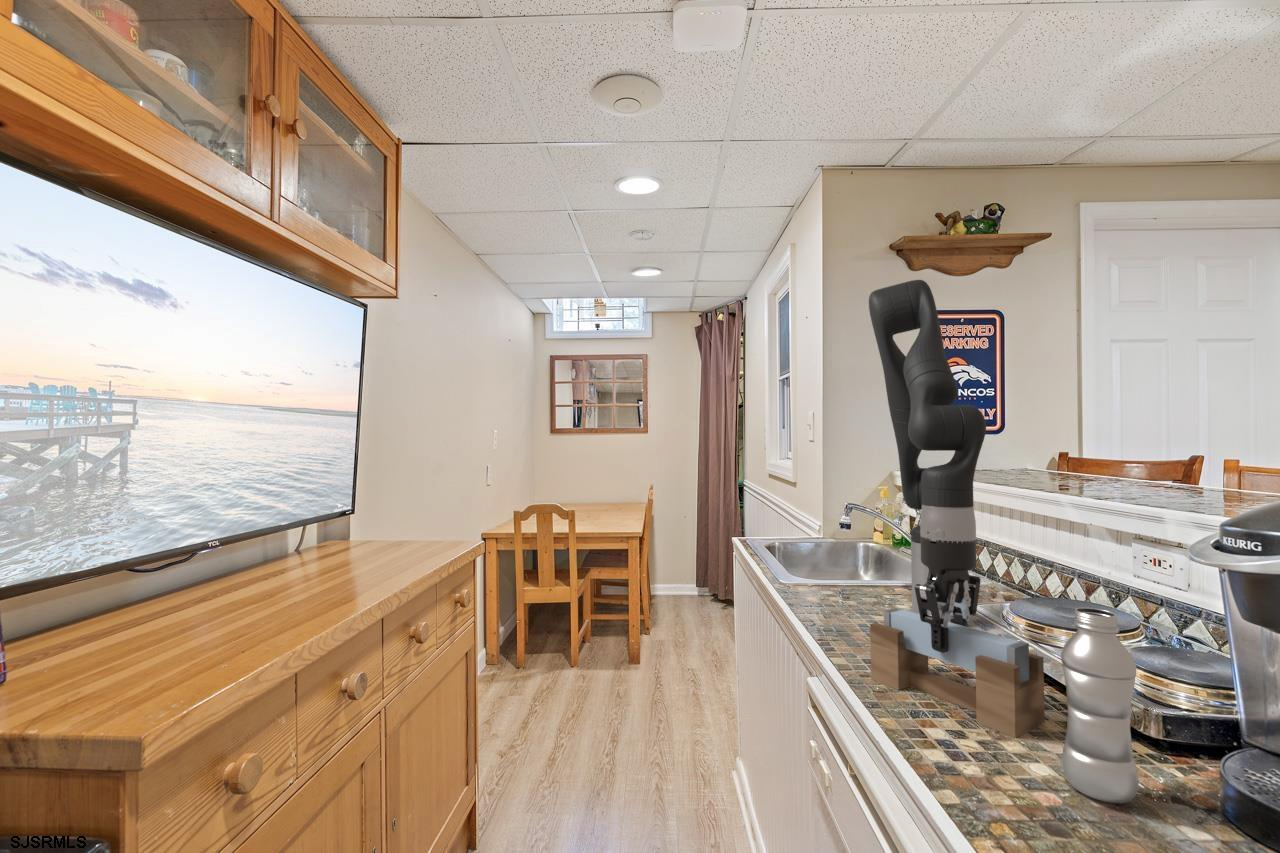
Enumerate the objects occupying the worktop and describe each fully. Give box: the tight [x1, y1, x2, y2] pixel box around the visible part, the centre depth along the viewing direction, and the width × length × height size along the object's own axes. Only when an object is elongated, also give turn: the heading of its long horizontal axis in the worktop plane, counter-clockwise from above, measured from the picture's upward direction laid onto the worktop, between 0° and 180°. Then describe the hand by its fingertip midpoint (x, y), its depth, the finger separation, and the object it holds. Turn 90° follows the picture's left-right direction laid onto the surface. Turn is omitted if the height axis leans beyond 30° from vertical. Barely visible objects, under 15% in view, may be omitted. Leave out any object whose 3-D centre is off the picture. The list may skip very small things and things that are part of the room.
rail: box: [883, 607, 1030, 683], centre depth 87 cm, size 4×20×5 cm, turn 31°
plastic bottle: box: [1060, 607, 1140, 805], centre depth 64 cm, size 6×7×20 cm
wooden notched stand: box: [869, 622, 1046, 739], centre depth 87 cm, size 8×22×9 cm, turn 31°
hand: (949, 647), depth 87 cm, fingers open, 4 cm apart
